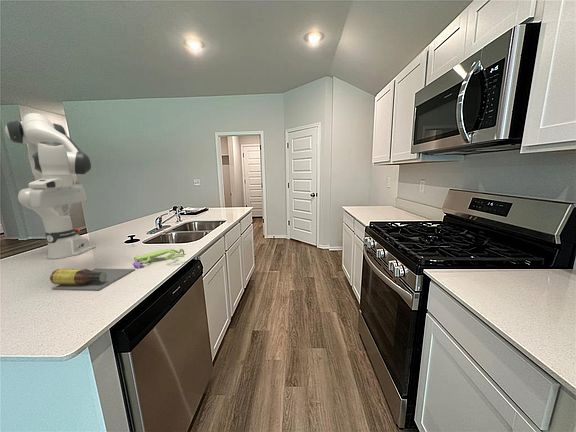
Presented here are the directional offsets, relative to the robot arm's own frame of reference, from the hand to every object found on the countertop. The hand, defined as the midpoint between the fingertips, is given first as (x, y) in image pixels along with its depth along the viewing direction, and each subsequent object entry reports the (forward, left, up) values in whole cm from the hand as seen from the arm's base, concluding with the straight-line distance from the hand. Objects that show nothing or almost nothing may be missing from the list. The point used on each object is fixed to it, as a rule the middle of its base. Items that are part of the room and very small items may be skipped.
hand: (64, 215), depth 102 cm
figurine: (-21, +26, -29) cm, 44 cm away
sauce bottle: (+8, -1, -24) cm, 25 cm away
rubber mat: (+1, +11, -28) cm, 30 cm away
